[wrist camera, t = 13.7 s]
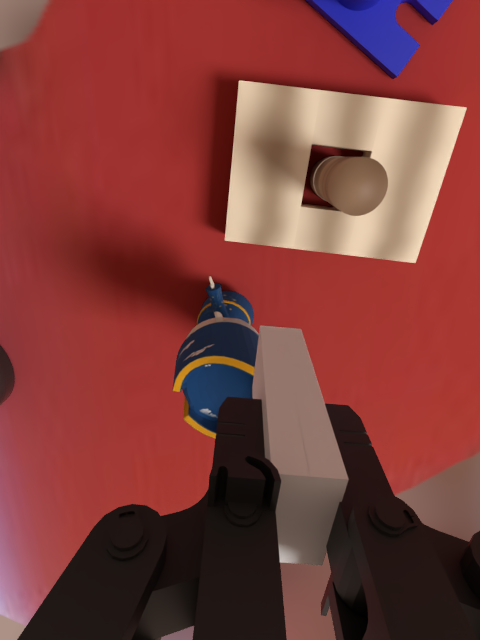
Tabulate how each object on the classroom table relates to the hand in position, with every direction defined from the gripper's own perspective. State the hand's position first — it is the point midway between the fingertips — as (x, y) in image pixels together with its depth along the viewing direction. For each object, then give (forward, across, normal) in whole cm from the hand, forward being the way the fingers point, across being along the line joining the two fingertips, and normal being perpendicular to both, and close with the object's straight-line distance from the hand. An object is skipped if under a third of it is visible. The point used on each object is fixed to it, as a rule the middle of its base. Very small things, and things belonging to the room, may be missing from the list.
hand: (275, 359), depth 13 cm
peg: (+28, +7, +6) cm, 29 cm away
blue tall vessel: (+29, -1, -10) cm, 30 cm away
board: (+28, +7, +6) cm, 29 cm away
